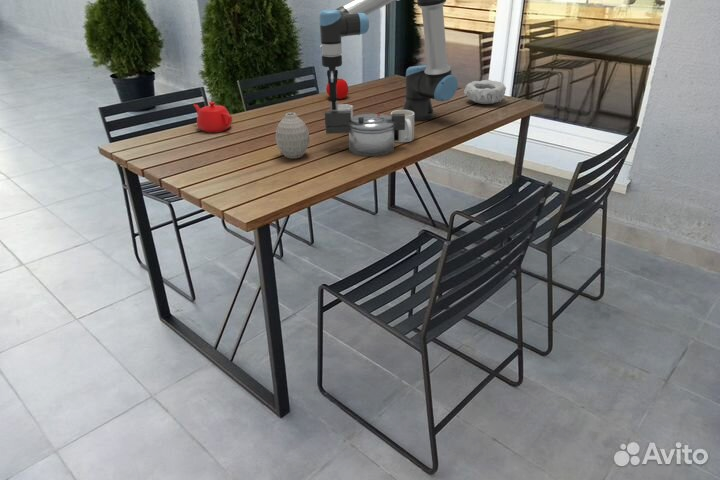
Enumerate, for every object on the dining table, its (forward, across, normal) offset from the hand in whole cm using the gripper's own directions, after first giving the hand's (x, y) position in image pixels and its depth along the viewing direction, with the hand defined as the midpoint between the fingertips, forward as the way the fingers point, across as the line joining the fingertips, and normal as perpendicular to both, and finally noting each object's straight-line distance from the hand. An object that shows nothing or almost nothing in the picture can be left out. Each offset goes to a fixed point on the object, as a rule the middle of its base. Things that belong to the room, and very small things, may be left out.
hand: (334, 116), depth 215 cm
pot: (+13, +3, +12) cm, 18 cm away
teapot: (+13, -29, -56) cm, 64 cm away
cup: (+13, -25, +2) cm, 29 cm away
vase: (+13, +10, -16) cm, 22 cm away
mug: (+13, -8, +28) cm, 31 cm away
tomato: (+13, -79, -2) cm, 81 cm away
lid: (+2, +2, +12) cm, 12 cm away
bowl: (+13, -64, +73) cm, 98 cm away
